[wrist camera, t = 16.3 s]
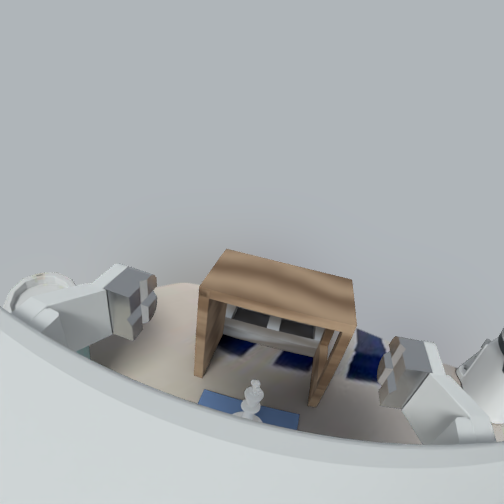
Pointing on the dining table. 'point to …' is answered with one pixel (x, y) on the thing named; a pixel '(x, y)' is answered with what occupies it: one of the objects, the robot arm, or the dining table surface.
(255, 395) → the chess piece
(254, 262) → the tunnel
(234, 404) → the mat
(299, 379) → the dining table surface
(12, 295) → the disposable coffee cup
